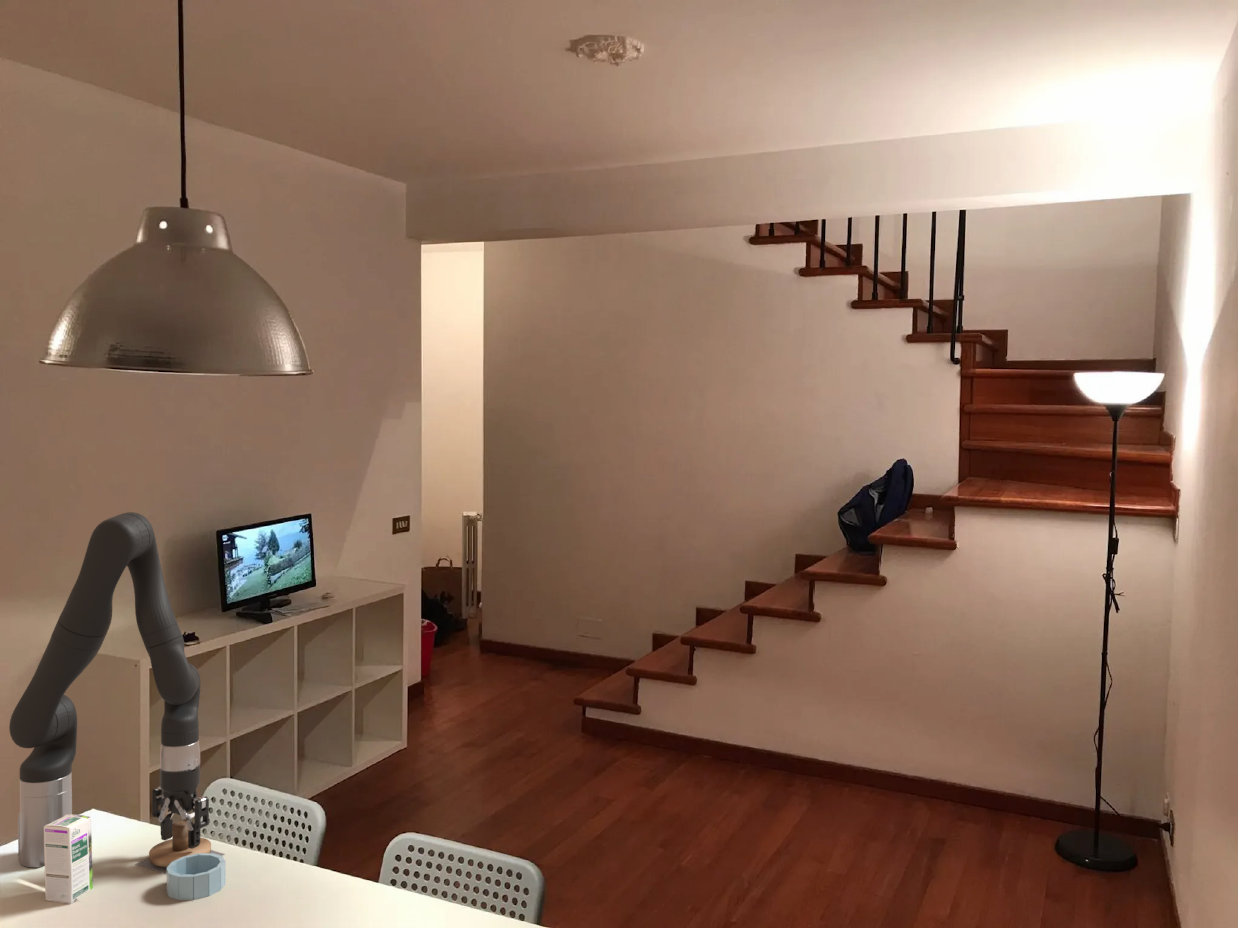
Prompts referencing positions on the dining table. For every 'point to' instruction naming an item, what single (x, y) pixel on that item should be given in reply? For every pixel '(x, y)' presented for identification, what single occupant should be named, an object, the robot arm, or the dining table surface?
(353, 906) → the dining table surface
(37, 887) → the dining table surface
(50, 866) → the syrup box
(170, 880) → the bowl
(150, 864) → the mat
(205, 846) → the lid
